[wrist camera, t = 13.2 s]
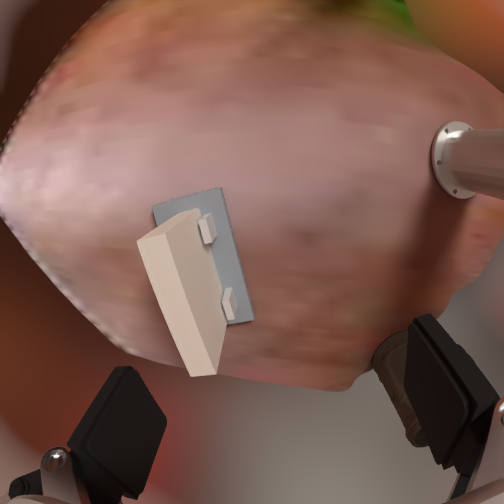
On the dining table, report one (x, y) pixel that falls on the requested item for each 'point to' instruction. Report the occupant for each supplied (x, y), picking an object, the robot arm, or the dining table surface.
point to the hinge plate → (216, 247)
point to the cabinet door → (187, 289)
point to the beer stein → (398, 383)
